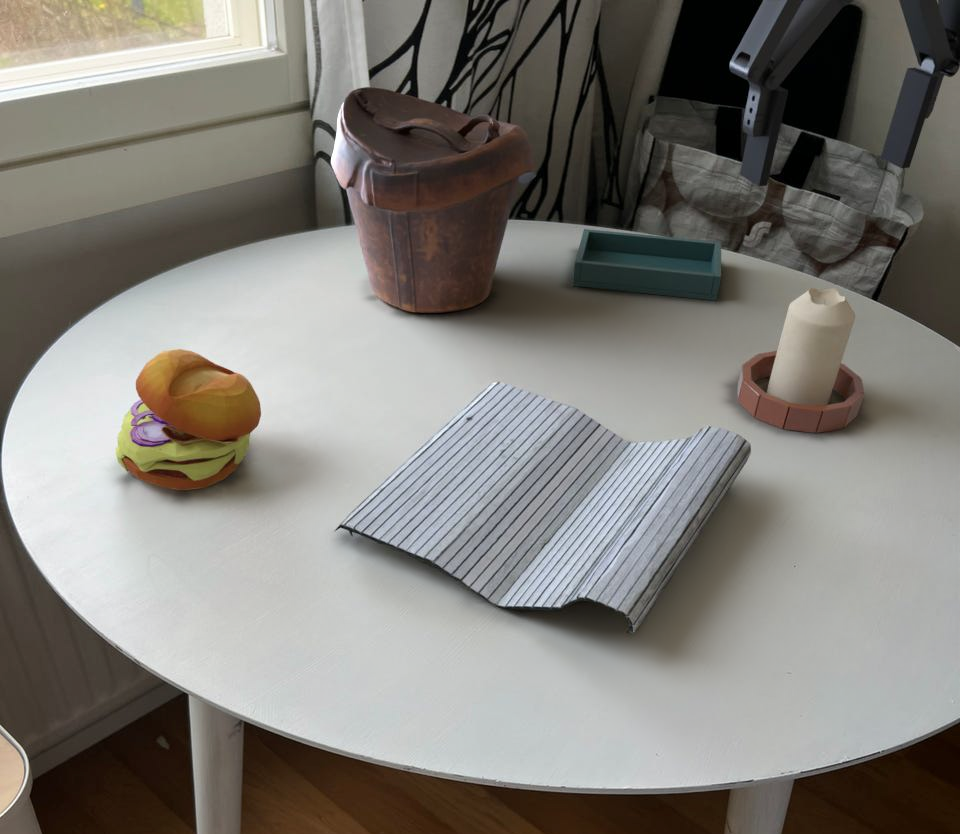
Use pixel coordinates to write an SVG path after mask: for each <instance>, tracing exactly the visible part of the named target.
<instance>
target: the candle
mask: <svg viewBox="0 0 960 834" xmlns="http://www.w3.org/2000/svg"><path fill="white" fill-rule="evenodd" d="M786 312H787V313H786V316H785V320H784V324H783V328H782V332H781V334H780V339H779V343H778V346H777V350H776V351H777V354H776V358H775V361H774V365H773V369H772V373H771V377H769V381H768V385H767V389H766V393H767V394H769V395H772V396H775V397H777V398H780V399H782V400H785V401H787V402H790V403H794V404H803V405H812V406H825V405H829V402H830V399H831V396H832V394H833V393H832V392H833V390H834V389H833V387H834V383H835V380H836V377H837V374H838V371H839V368H840V364H841V363H842V361H843V358H844V355H845V352H846V349H847V345H848V342H849V338H850V336H851V332H852V330H853V326H854V323H855V320H856V313H855V310H854V309H853V308H852V306H851V305H850V303H849V301H848V300H847V298H846V296H844V295H841V294H840V292H839V291H838V290H837V289H836V288H828V289H824V290H819V289H816V288H815V287H814V288H809V289H808V290H807V291H805V292H804V293H803V294H801V295H800V296H798V297H797V298H795V299H794V300H792V301H791V302H790V304H789V305H788V309H787V311H786Z"/></svg>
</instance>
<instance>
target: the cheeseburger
mask: <svg viewBox="0 0 960 834" xmlns="http://www.w3.org/2000/svg"><path fill="white" fill-rule="evenodd" d="M135 390H136V393H137V396H138V397H139V398H140V399H139V400H138V401H136V402H134V403H133V404H132V406H131V407H130V408H129V410H128V412H126V414H125V416H124V418H123V419H122V422H121V423H122V424H121V430H120V431H119V433H118V434H117V445H116V447H115V455H116V459H117V462H118V464H119V465H120V466H121V467H122V468H123V469H124V471H125V472H127V473H130V474H131V475H132V476H134V477H135V478H137V479H138V480H140V481H143V482H146V483H148V484H151V485H154V486H157V487H161V488H166V489H170V490H171V489H172V490H177V491H185V490H186V491H187V490H196V489H205V488H207V487H210V486H211V485H214V484H216V483H218V482H220V481H223V480H225V479H226V478H227V477H229V475H230V474H232V473H233V472H234V471H235V470H236V469H237V468H238V466H239V464H241V463H242V461H243V460H244V458H245V456H246V455H247V452H248V450H249V447H250V439H251V438H250V437H251V434H252V432H253V431H255V430H256V428H257V427H258V426H259V424H260V421H261V417H262V408H261V402H260V399H259V397H258V394H257V393H256V391H255V389H254V386H253V385H252V383H251V381H249V379H247V377H245V375H243V374H241V373H239V372H235V371H233V370H231V369H229V368H227V367H224V366H221V365H219V364H217V363H214V362H213V361H211V360H209V359H208V358H206V357H205V356H203V355H202V354H199V353H197V352H194V351H192V350H187V349H181V348H178V349H170V350H163V351H161V352H160V353H158V354H156V355H155V356H154V357H153V358H151V359H149V360H148V361H147V362H146V363H145V365H144V366H143V368H142V369H141V371H140V372H139V373H138V375H137V377H136V380H135Z"/></svg>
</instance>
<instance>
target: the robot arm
mask: <svg viewBox="0 0 960 834" xmlns="http://www.w3.org/2000/svg"><path fill="white" fill-rule="evenodd" d="M854 1H855V0H762V2H761V4H760V5H759V7H758V9H757V10H756V13H755V15H754V17H753V19H752V20H751V22H750V24H749V26H748V28H747V29H746V32H745V33H744V34H743V37H742V39H741V41H740V43H739V44H738V46H737V48H736V49H735V52H734V54H733V55H732V57H731V59H730V61H729V67H728V68H729V71H730V72H731V73H732V74H734V75H736V76H738V77H740V78H741V79H742V78H743V79H744V80H746V81H747V82H748V84H749V89H748V96H747V99H746V100H747V101H746V105H745V110H744V116H743V119H742V121H743V122H742V132H743V133H745V134H747V137H746V142H745V146H744V152H743V156H742V161H741V165H740V169H739V170H740V171H739V176H741V177H742V178H744V179H746V180H748V181H749V182H751V183H752V184H754V185H756V186H757V187H764V186H765V187H766V186H768V183H769V178H770V174H771V171H772V166H773V162H774V157H775V152H776V147H777V143H778V140H779V135H780V131H781V125H782V121H783V118H784V113H785V108H786V103H787V99H788V95H789V90H788V89H786V88H784V87H781V84H782V83H783V82H784V80H785V79H786V78H787V77H788V75H789V74H790V73H791V72H792V71H793V70H794V68H795V67H796V65H797V64H798V63H799V62H800V61H801V60H802V58H803V57H804V56H805V54H806V53H807V52H808V51H809V50H810V48H811V47H812V46H813V45H814V44H815V42H816V41H817V39H818V38H819V37H820V36H821V34H822V33H824V31H825V30H826V28H827V27H828V26H829V25H830V23H831V22H832V21H833V20H834V19H835V17H836V16H837V15H838V13H840V11H841V10H842V9H843V8H844V7H845V6H848V5H850V4H852V3H853V2H854ZM898 2H899V4H900V8H901V11H902V15H903V18H904V22H905V24H906V28H907V30H908V33H909V38H910V40H911V45H912V47H913V50H914V54H915V57H916V60H917V63H918V65H919V67H920V68H917V67H907V68H906V71H905V74H904V77H903V81H902V84H901V88H900V91H899V94H898V98H897V101H896V104H895V106H894V107H895V108H894V112H893V114H892V118H891V121H890V125H889V127H888V131H887V134H886V138H885V141H884V145H883V148H882V151H881V154H880V159H881V160H884V161H886V162H888V163H890V164H892V165H894V166H896V167H898V168H900V169H908V168H911V164H912V161H913V158H914V155H915V151H916V149H917V146H918V142H919V139H920V136H921V133H922V130H923V127H924V124H925V120H926V119H929V118H930V116H931V115H932V113H933V111H934V107H935V105H936V101H937V98H938V95H939V92H940V89H941V86H942V83H943V80H944V77H945V76H946V77H948V78H952V77H954V76H956V74H957V73H958V72H959V70H960V0H898Z"/></svg>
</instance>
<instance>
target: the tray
mask: <svg viewBox="0 0 960 834" xmlns="http://www.w3.org/2000/svg"><path fill="white" fill-rule="evenodd" d="M573 268H574V269H573V277H572V286H573V287H582V288H589V289H599V290H608V291H609V290H611V291H619V292H629V293H639V294H649V295H657V296H668V297H677V298H678V297H679V298H687V299H696V300H697V299H698V300H705V301H706V300H707V301H714V302H715V301H717V299H718V294H719V289H720V285H721V280H722V242H721V241H713V240H703V239H693V238H682V237H671V236H663V235H662V236H661V235H651V234H643V233H631V232H630V233H629V232H620V231H611V230H610V231H609V230H599V229H589V228H583V230H582V235H581V238H580V241H579V246H578V250H577V253H576V256H575V259H574V267H573Z"/></svg>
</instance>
